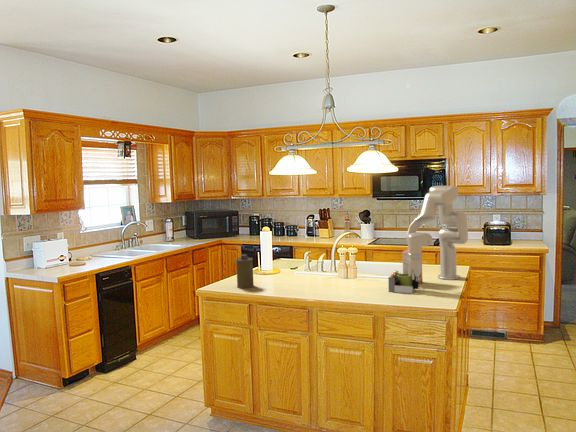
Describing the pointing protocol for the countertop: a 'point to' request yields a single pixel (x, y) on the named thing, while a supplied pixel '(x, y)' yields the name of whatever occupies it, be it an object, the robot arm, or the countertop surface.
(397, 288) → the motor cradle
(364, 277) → the countertop surface
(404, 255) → the cracker box
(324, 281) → the countertop surface
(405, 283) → the plant pot
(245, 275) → the canister
